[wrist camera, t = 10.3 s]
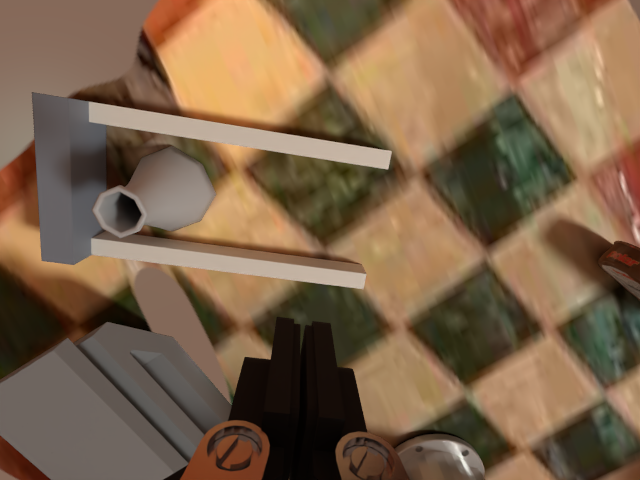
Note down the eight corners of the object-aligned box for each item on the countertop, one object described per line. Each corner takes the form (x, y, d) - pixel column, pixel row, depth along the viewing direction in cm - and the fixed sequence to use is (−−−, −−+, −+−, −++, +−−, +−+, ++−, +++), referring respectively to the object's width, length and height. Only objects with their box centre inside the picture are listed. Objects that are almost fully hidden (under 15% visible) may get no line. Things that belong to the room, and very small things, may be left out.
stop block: (106, 104, 30) (68, 98, 25) (106, 246, 33) (73, 264, 28) (75, 99, 29) (31, 92, 25) (79, 242, 33) (41, 260, 28)
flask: (231, 195, 32) (201, 220, 23) (173, 243, 33) (122, 287, 24) (173, 130, 31) (115, 128, 21) (114, 183, 32) (32, 204, 22)
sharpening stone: (65, 324, 35) (-35, 404, 25) (128, 285, 34) (53, 350, 24) (217, 484, 42) (189, 600, 31) (273, 454, 41) (263, 563, 30)
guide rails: (385, 150, 32) (391, 151, 29) (359, 278, 35) (363, 289, 33) (106, 104, 30) (88, 101, 27) (106, 246, 33) (91, 254, 31)
